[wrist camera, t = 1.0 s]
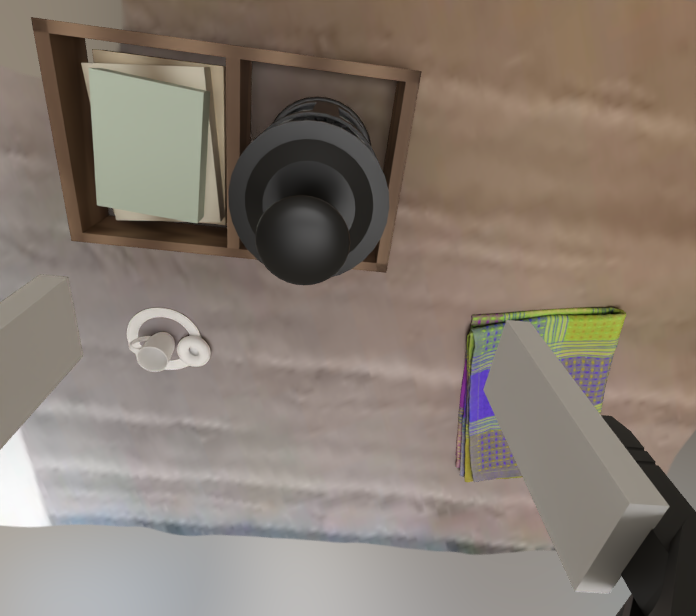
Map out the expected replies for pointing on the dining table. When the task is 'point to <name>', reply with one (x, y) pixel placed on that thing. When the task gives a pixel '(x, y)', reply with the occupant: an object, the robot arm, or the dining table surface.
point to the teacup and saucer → (166, 343)
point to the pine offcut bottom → (218, 95)
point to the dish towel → (568, 346)
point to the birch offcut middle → (203, 81)
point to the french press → (310, 193)
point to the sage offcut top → (149, 145)
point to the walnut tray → (77, 139)
